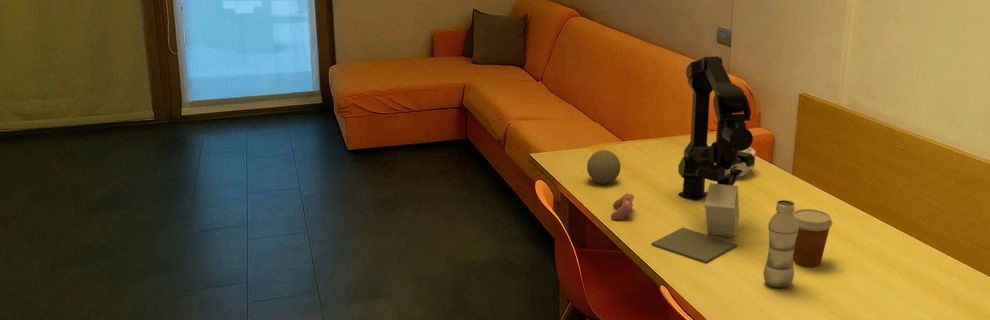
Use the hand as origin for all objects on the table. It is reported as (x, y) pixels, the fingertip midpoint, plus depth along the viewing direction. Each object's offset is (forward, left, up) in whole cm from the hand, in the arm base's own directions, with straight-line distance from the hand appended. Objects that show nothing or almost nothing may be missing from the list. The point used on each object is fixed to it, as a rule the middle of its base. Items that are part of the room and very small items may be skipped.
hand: (723, 197), depth 233 cm
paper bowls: (-42, -23, -10) cm, 49 cm away
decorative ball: (-9, -46, -10) cm, 48 cm away
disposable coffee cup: (+2, +25, -10) cm, 27 cm away
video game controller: (+8, -26, -10) cm, 29 cm away
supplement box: (0, 0, -8) cm, 8 cm away
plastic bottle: (+18, +26, -10) cm, 33 cm away
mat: (+13, 0, -10) cm, 16 cm away
